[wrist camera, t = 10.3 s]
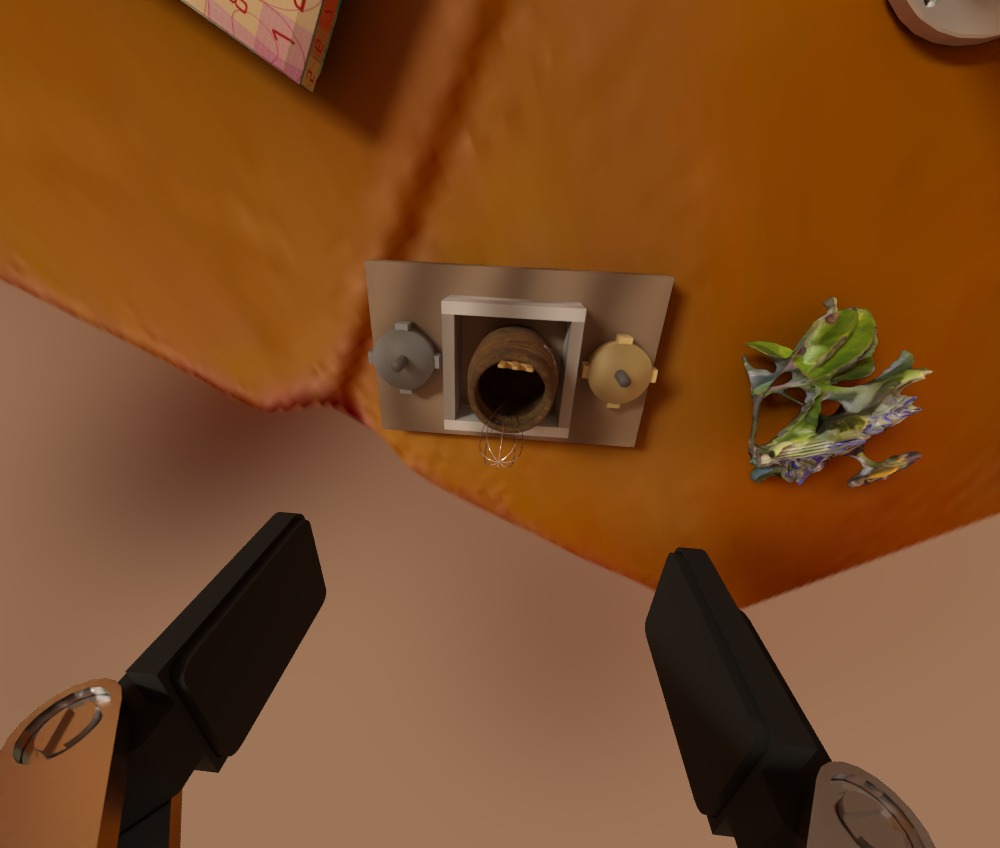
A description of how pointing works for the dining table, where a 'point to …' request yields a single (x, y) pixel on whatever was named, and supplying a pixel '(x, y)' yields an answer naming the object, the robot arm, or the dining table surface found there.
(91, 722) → the robot arm
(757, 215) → the dining table surface
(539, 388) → the utensil holder
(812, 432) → the passion flower
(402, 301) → the gear board
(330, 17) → the puzzle game
